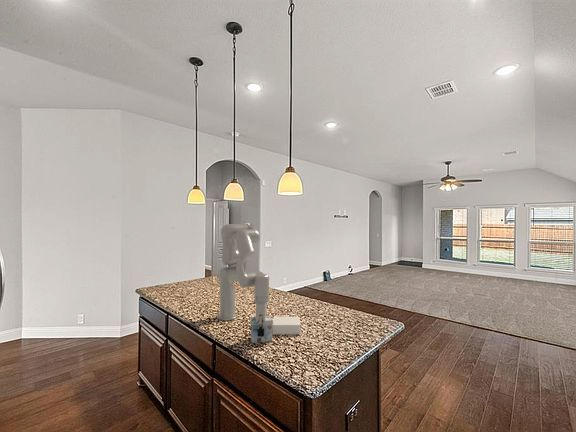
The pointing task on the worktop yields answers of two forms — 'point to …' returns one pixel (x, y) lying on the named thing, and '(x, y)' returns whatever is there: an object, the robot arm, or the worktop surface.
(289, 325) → the plinth
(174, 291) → the worktop surface
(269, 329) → the light bulb box
